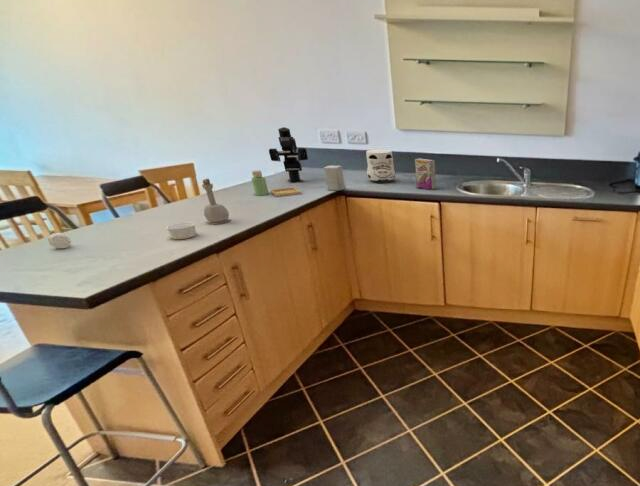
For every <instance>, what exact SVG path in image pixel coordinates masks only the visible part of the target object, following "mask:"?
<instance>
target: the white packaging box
mask: <svg viewBox="0 0 640 486" xmlns="http://www.w3.org/2000/svg"><path fill="white" fill-rule="evenodd" d="M323 171H324V177H325V182H326V186H327V191H342V190H345V189H346V184H345V178H344V177H345V176H344V172H343V166H342V165H327V166H325V167H323Z"/></svg>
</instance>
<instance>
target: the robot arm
mask: <svg viewBox="0 0 640 486" xmlns="http://www.w3.org/2000/svg"><path fill="white" fill-rule="evenodd" d="M277 130H278V135H279V136H278V142H279V145H280V148H281V150H278V148H269V149H268V153H269V158H270V161H272V162H279V163H280V162H281V157H282V156H283V158H284V159H283V166H284V171H285V172H287V173H288V177H289V179H288V182H290V183H297V182H298V183H299V182H303V180H302V179H301V177H300V172H301V171H303V168H302V164H301V161H307V160H308V159H309V157H308V153H307V152H308V151H307V148H306V147H298V146H297V141H296V139H295V138H294V136H292V134H291V130H290V128H288V127H285V126H283V127H280V128H278V129H277Z"/></svg>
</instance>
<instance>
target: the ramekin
mask: <svg viewBox="0 0 640 486" xmlns="http://www.w3.org/2000/svg"><path fill="white" fill-rule="evenodd" d="M166 230H167V232H168V234H169V236H170V238H172V239H173V240H185V239H186V240H187V239H190V238H193V237H196V236H197V230H196V223H194V222H188V221H187V222H177V223H172V224H169V225H167V226H166Z"/></svg>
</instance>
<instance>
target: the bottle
mask: <svg viewBox="0 0 640 486" xmlns="http://www.w3.org/2000/svg"><path fill="white" fill-rule="evenodd" d="M250 179H251V183H252V187H253V191H254V194H255V196H267V195H269V188H268V184H267V181H266V177H265V176H262V177H253V176H252V177H251V178H250Z"/></svg>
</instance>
